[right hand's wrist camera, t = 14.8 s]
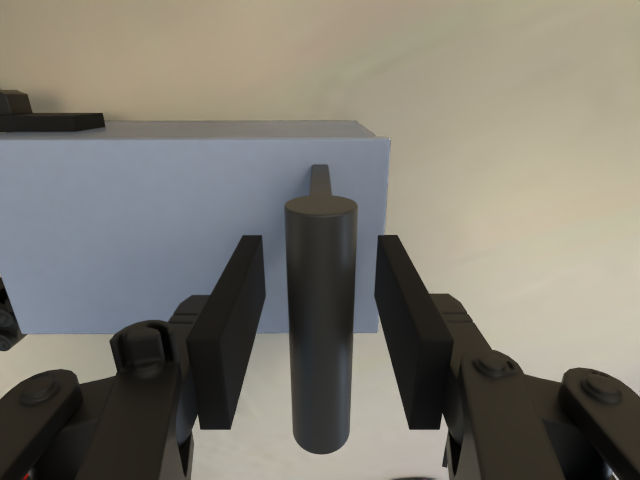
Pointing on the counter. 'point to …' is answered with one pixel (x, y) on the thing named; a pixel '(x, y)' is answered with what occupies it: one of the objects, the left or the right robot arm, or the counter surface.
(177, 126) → the chest
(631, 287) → the counter surface
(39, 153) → the door
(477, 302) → the counter surface
